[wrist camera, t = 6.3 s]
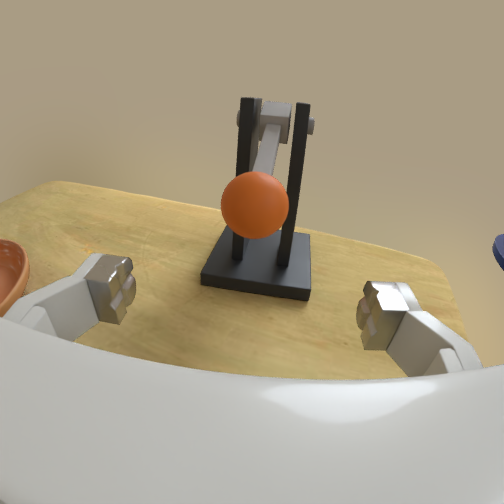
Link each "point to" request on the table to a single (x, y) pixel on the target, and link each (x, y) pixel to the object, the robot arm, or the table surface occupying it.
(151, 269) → the table surface
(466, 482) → the robot arm
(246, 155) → the switch base
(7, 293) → the saucer
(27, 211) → the table surface
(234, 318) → the table surface
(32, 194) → the table surface
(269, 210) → the lever
